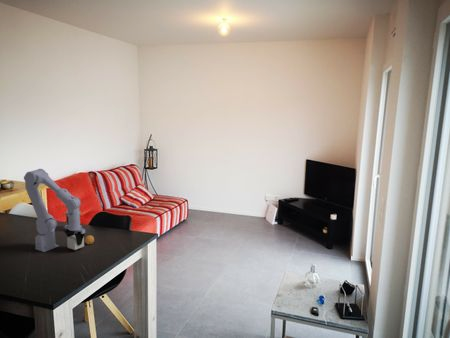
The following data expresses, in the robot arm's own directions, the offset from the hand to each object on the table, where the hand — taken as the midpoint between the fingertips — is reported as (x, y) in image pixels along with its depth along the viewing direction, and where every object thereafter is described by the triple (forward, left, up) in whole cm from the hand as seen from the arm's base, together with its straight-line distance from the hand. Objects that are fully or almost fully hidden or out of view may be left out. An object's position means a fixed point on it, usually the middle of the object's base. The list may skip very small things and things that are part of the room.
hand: (75, 243), depth 191 cm
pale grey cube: (0, 0, -2) cm, 2 cm away
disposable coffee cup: (+20, +27, -4) cm, 34 cm away
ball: (+9, 0, -1) cm, 9 cm away
